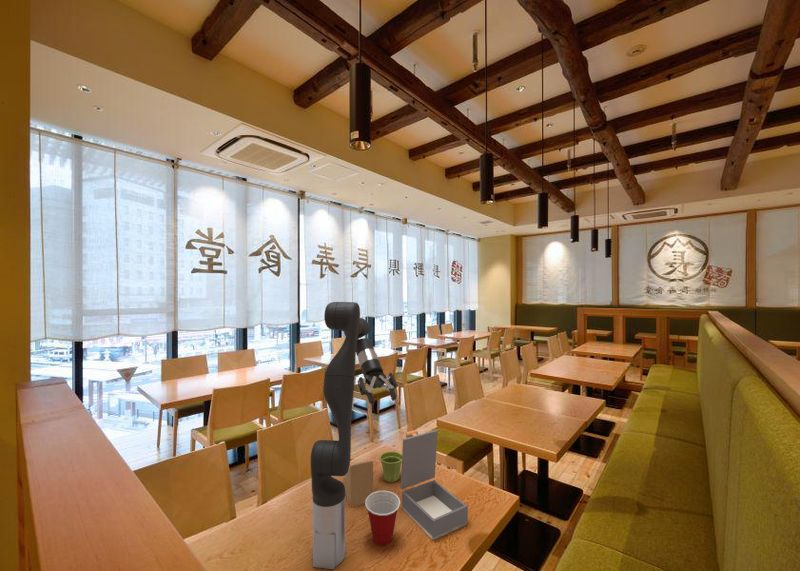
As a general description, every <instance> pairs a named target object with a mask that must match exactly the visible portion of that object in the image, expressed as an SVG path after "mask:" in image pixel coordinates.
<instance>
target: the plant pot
mask: <svg viewBox="0 0 800 571" xmlns="http://www.w3.org/2000/svg"><path fill="white" fill-rule="evenodd" d="M379 460H380V463H381V468H382V473H383V474H382V475H383V480H385V481H386V482H387V483H394V482H396V481H399V479H400V476H401V468H402V453H401V452H398V451H385V452H383V453H381V454H380V456H379Z"/></svg>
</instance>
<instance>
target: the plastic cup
mask: <svg viewBox="0 0 800 571" xmlns="http://www.w3.org/2000/svg"><path fill="white" fill-rule="evenodd" d="M364 505H365V506H364V507H366V509H367V510H366V511H367V512H368V513H367V514H368V518H369V523H370V530H371V536H372V540H373V542H374V543H375V544H376V545H378V546H379V545H380V546H386V545H389V544H390V543H391V542H392V540H393V535H394V529H395V525H396V519H397V513H398V510H399V508H400V506H401V500H400V497H399V496H398V495H397V494H396V493H394V492H393V491H388V490H376V491H373V493H372V494H370V495H369V496H368V497H367V499H366V500H365V504H364Z"/></svg>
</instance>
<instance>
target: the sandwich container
mask: <svg viewBox="0 0 800 571" xmlns="http://www.w3.org/2000/svg"><path fill="white" fill-rule="evenodd" d="M344 477H345V478H344V479H343V482H342V483H343V484H344V486H345V499H347V502H348V504H349V506H350V508H353V507H358V506H362V505H365V500H366V499H367V497H368V496H369V495H370V494H372V493H373V492H374V461H372V460H370V461H365V462H359V463H355V464H354V463H353V464H350V466H349V470H348V472H347V474H346V475H345V476H344Z"/></svg>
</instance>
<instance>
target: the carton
mask: <svg viewBox="0 0 800 571" xmlns="http://www.w3.org/2000/svg"><path fill="white" fill-rule="evenodd" d="M401 509H402V510H403V512H404V513H405V514H406V515H407V516H409V518H410V519H412V521H413V522H414V523H415V524H416V525H417V526H418V527H419V528H420V529H421V530H422V531H423V532H424V533H425V534H426V535H427V536H428V537H429V538H430V539H431V540H432V541H433V542H434V541H436V540H438V539H440V538H442V537H444V536H446V535H448V534H451V533H453V532H455V531H457V530H459V529H461V528H463V527H465V526H467V525H469V524H468V522H469V521H468V520H469V517H468V514H469V513H468V511H469V510H468V509H469V506H468V505H467V504H466V503H464V502H463V501H462V500H460V499H459V498H458V497H456V496H455V494H453V493H451V492H450V491H449V490H448V489H447V488H445V487H443V485H441V484H440V483H439V482H438V481H436V480H435V479H433V480H431V481H428V482H424V483H422V484H420V485H417V486H414V487H412V488H409V489H405V490H404V491H402V492H401Z"/></svg>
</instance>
